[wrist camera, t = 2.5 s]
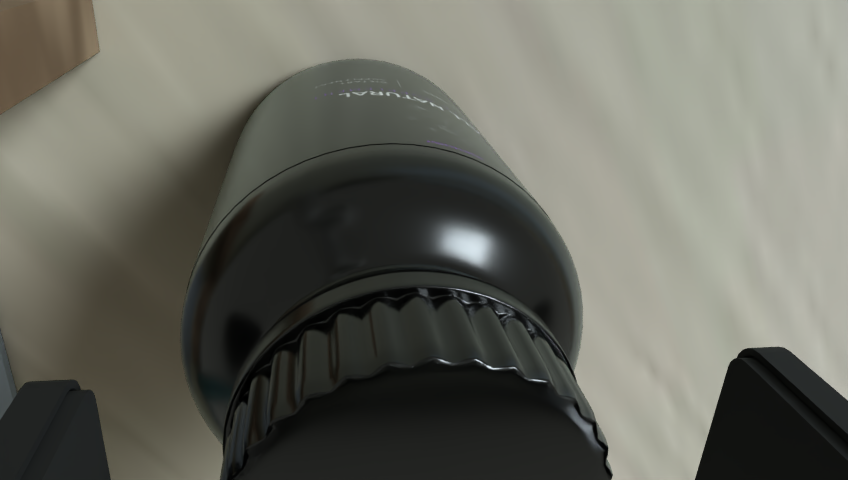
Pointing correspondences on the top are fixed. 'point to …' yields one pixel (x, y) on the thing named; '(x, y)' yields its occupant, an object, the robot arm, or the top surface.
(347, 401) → the supplement bottle
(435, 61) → the top surface
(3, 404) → the mat
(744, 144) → the top surface
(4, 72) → the wooden corner wall
